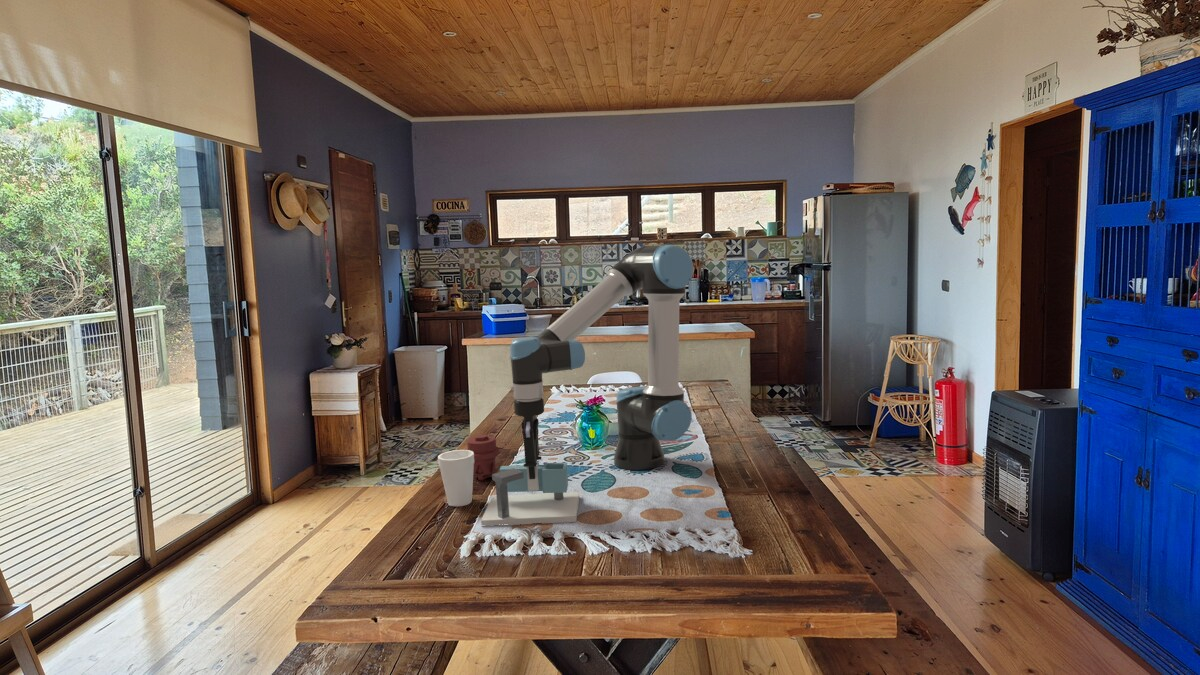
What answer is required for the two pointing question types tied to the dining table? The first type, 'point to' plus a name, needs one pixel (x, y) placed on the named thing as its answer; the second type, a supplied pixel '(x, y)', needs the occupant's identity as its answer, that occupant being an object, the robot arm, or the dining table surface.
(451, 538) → the dining table surface
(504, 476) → the block
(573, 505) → the board
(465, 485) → the foam cup
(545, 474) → the link
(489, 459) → the mechanical component
